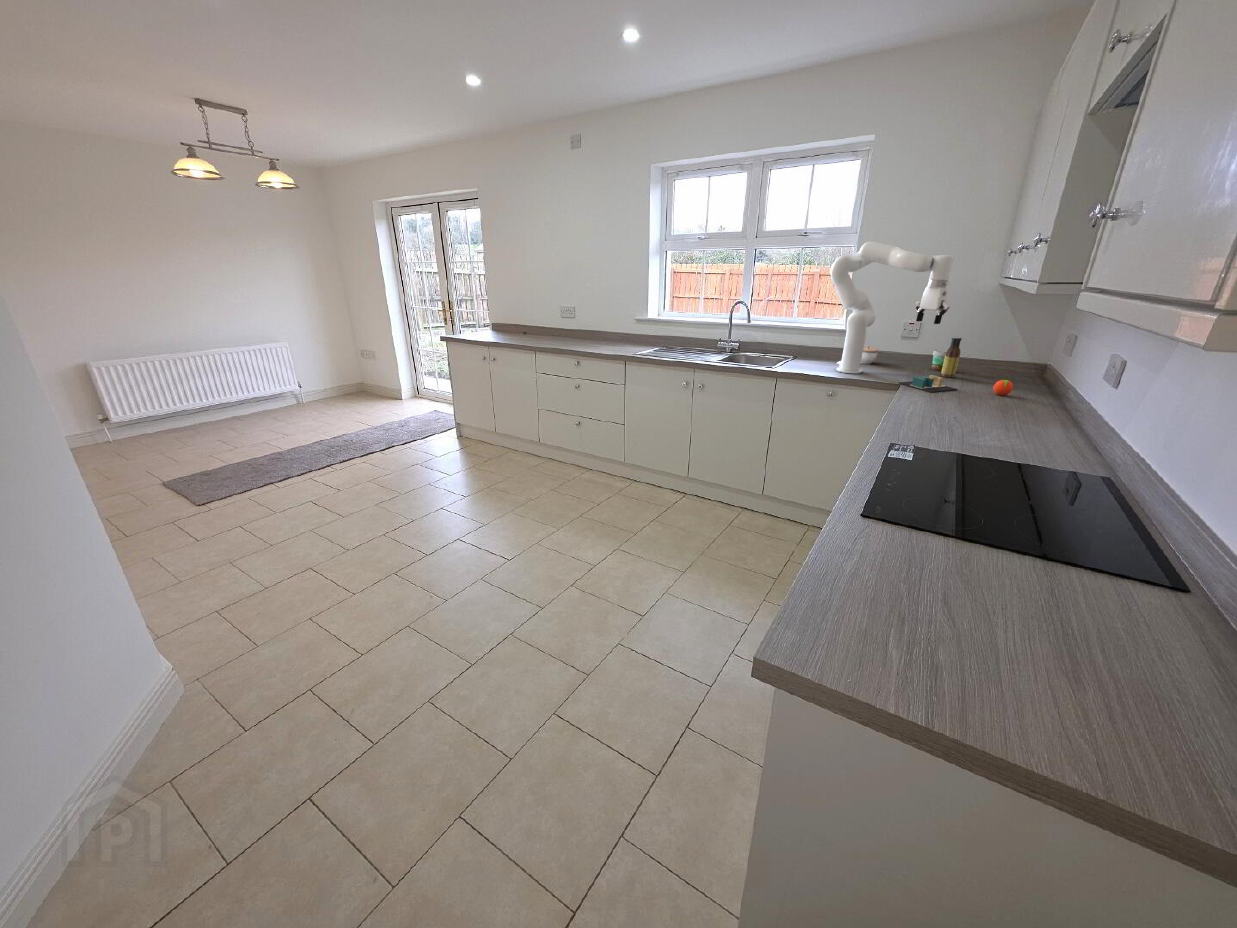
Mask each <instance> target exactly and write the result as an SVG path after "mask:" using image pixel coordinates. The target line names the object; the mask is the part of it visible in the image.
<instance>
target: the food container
mask: <svg viewBox="0 0 1237 928" xmlns="http://www.w3.org/2000/svg"><path fill="white" fill-rule="evenodd" d="M946 352H947V351H938V350H937V349H934V350H933V352H932V355H933V356H932V364H931V370H933V371H936V372H942V367H943V363H944V359H945V355H946Z"/></svg>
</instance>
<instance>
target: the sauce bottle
mask: <svg viewBox="0 0 1237 928" xmlns="http://www.w3.org/2000/svg"><path fill="white" fill-rule="evenodd" d="M961 341H962V337H960V336H952V337H951V342H950V346H949V347H948V349H947V350H946V351H945V352H946V355H945V359H944V363H943V367H942V371H940V373H941V374H940V377H942V378H950V379H951V378H955V377H956V373H957V369H958V366H959V362H960V356H961V348H960V345H961Z"/></svg>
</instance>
